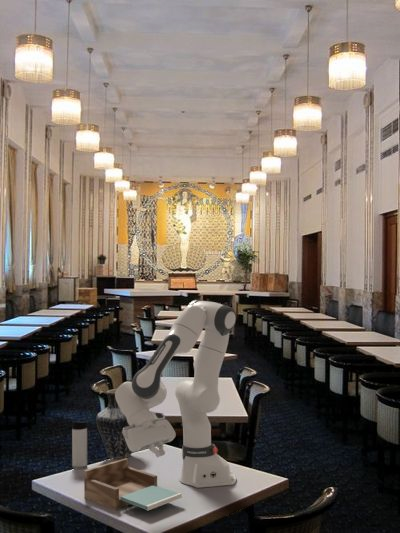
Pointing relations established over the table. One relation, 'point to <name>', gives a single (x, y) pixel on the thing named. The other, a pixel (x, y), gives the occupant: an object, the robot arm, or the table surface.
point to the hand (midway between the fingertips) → (161, 455)
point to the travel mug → (79, 444)
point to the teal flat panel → (151, 497)
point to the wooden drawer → (115, 483)
